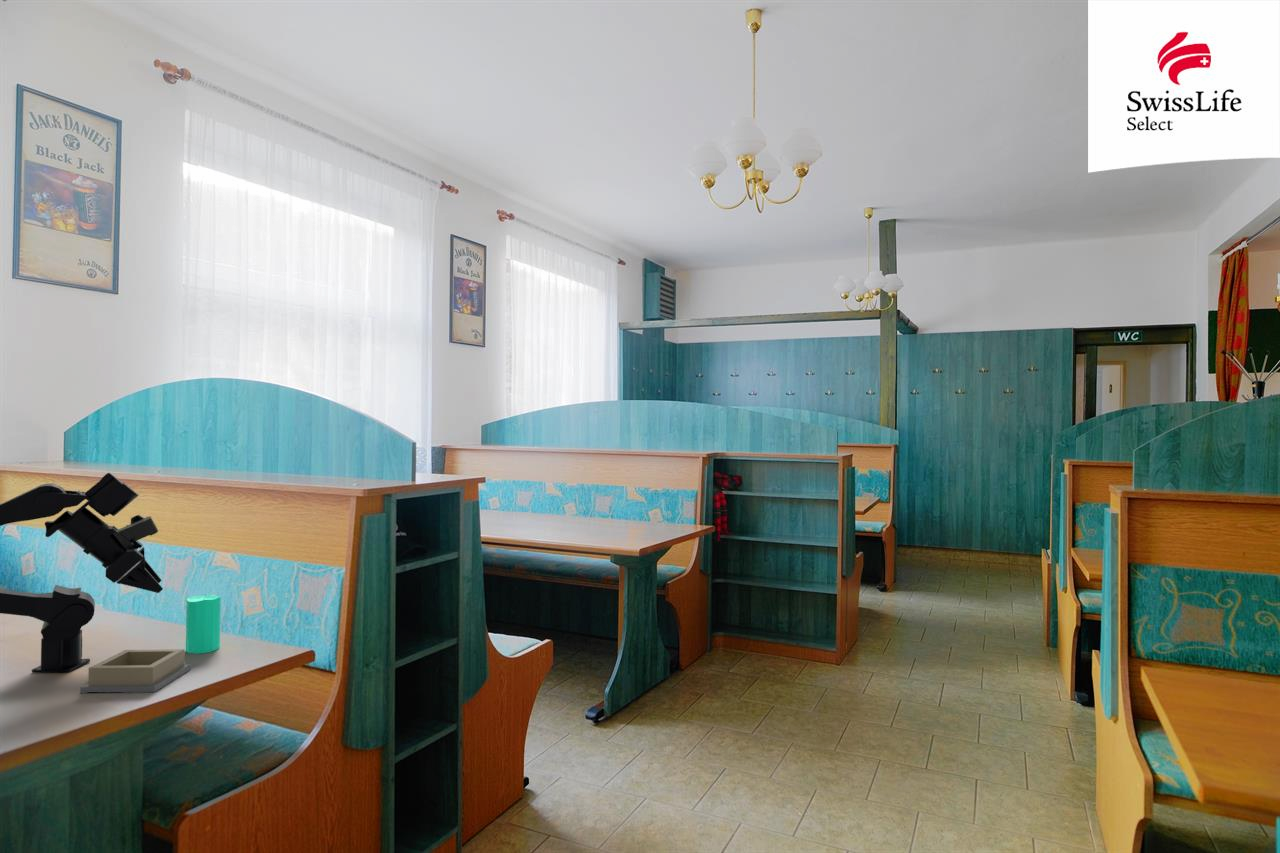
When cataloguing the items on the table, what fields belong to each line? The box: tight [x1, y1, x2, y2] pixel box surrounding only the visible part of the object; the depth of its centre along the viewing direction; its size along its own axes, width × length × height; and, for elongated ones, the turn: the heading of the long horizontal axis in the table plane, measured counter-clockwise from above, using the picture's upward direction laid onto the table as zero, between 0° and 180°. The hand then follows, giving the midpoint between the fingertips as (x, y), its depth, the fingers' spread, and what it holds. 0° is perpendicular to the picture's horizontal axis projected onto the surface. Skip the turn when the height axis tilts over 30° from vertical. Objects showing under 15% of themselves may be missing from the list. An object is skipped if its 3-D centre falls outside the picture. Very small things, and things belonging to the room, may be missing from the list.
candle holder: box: [79, 648, 192, 694], centre depth 132 cm, size 12×12×4 cm
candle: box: [185, 594, 222, 654], centre depth 151 cm, size 6×6×12 cm
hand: (160, 586), depth 147 cm, fingers open, 9 cm apart
